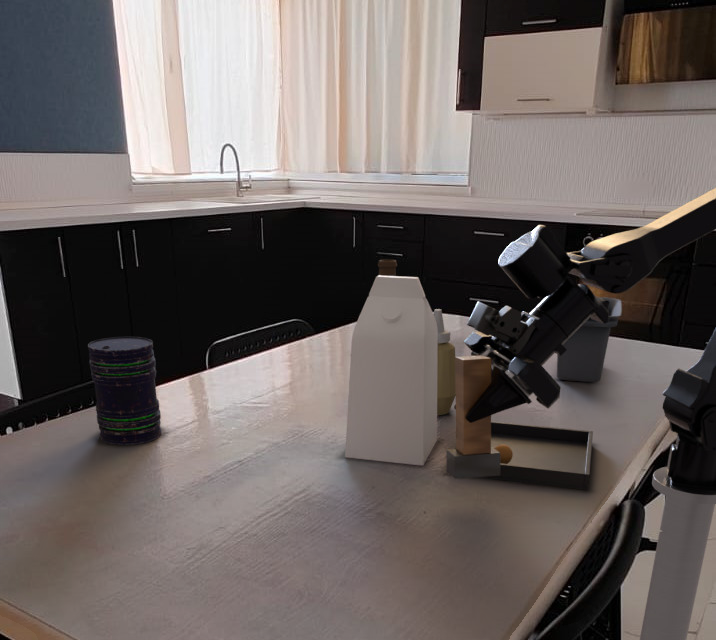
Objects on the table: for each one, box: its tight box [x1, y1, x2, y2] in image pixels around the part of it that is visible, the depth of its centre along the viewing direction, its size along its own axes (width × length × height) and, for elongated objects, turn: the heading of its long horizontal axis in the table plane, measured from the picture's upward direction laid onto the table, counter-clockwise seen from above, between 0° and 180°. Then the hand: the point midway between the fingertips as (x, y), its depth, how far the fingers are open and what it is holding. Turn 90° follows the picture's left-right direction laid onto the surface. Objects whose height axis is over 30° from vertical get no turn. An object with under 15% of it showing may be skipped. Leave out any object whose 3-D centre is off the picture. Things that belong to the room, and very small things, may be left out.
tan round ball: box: [494, 445, 513, 464], centre depth 112 cm, size 3×3×3 cm
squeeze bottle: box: [433, 308, 456, 416], centre depth 134 cm, size 8×8×18 cm
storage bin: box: [556, 296, 623, 383], centre depth 161 cm, size 21×16×14 cm
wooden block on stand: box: [446, 355, 500, 480], centre depth 98 cm, size 6×4×15 cm, turn 100°
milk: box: [344, 274, 438, 466], centre depth 115 cm, size 12×12×26 cm
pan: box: [480, 420, 594, 491], centre depth 116 cm, size 19×19×2 cm
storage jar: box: [87, 336, 163, 446], centre depth 122 cm, size 10×10×15 cm
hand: (461, 415), depth 98 cm, fingers closed on wooden block on stand, 4 cm apart
